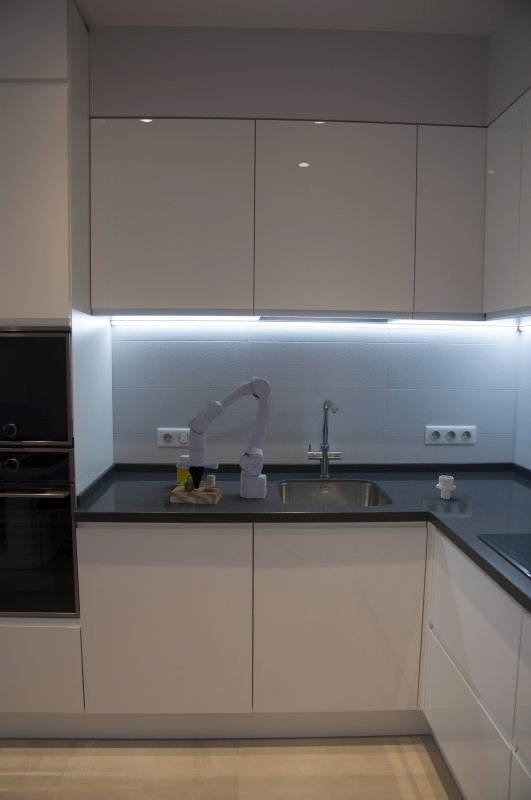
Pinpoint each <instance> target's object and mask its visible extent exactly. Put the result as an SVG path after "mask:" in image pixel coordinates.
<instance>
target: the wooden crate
mask: <svg viewBox="0 0 531 800" xmlns="http://www.w3.org/2000/svg"><path fill="white" fill-rule="evenodd" d="M178 486H184V485H178ZM200 487H211V488H221V492H220V493H219V495H218V496H217V494H212V493H190V492H172V491H170V492H169V502H170V503H173V504H174V503H179V504H195V505H197V504H199V505H217V504H218V503H219V501H220V499H222V496H223V486H222V485H221V486H216V485H215V486H207V485H200Z"/></svg>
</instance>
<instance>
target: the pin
mask: <svg viewBox="0 0 531 800" xmlns="http://www.w3.org/2000/svg"><path fill="white" fill-rule="evenodd" d="M206 486H216V475H215V474H208V475H207V476H206Z"/></svg>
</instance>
